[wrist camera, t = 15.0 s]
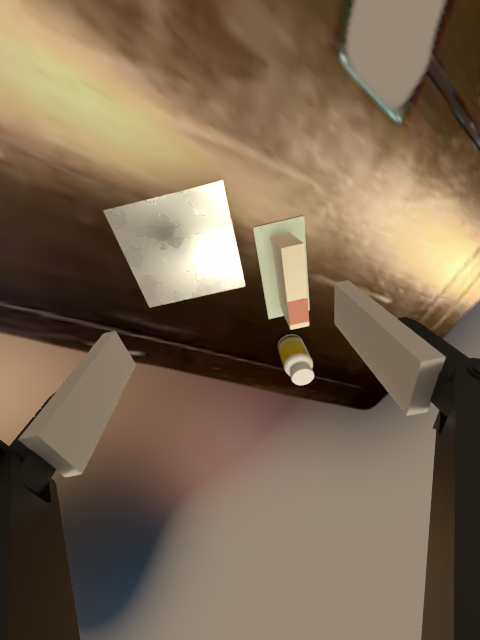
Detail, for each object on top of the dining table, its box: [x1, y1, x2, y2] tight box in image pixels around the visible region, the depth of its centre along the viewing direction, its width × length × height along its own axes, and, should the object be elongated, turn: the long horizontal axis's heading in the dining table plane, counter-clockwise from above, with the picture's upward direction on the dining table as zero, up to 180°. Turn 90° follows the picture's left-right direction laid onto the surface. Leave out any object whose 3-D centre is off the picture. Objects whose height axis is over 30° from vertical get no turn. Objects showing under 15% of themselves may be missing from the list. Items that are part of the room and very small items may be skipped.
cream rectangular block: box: [270, 232, 309, 330], centre depth 36 cm, size 13×3×8 cm, turn 12°
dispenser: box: [103, 181, 245, 308], centre depth 30 cm, size 12×12×13 cm
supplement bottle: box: [278, 334, 314, 385], centre depth 44 cm, size 5×5×10 cm
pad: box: [253, 216, 310, 319], centre depth 40 cm, size 17×8×1 cm, turn 12°
